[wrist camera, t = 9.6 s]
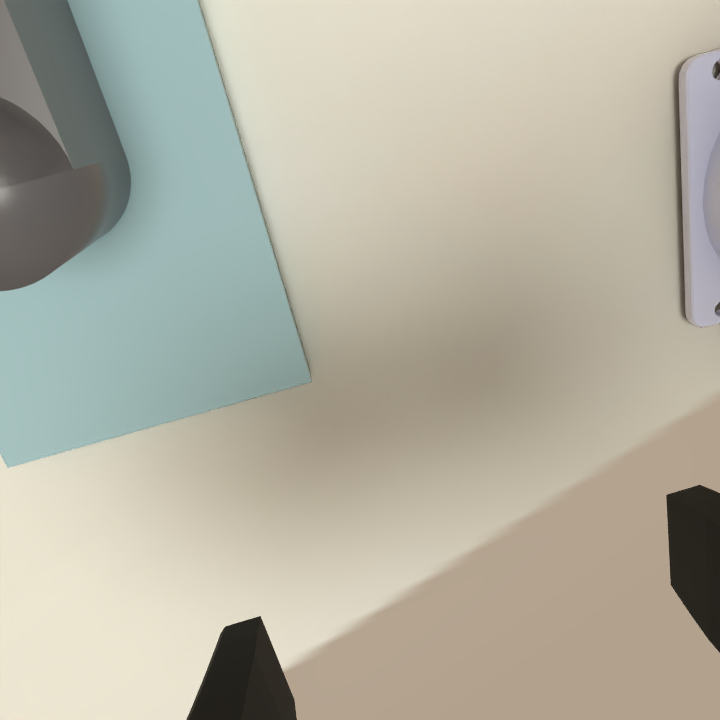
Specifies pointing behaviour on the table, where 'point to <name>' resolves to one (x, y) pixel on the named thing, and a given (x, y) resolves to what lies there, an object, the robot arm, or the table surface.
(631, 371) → the table surface
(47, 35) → the connector
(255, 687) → the robot arm
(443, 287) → the table surface
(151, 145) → the desk mat
